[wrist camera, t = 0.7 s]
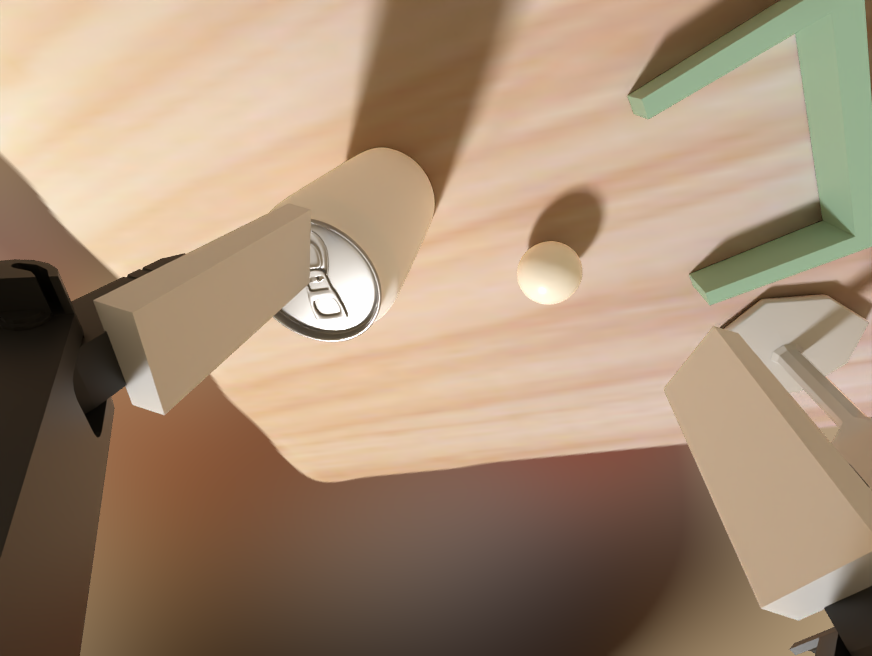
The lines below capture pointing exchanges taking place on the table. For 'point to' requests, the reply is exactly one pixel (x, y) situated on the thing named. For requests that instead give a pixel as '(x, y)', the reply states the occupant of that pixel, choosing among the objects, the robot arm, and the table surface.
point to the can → (359, 242)
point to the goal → (828, 124)
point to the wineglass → (813, 361)
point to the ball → (549, 272)
